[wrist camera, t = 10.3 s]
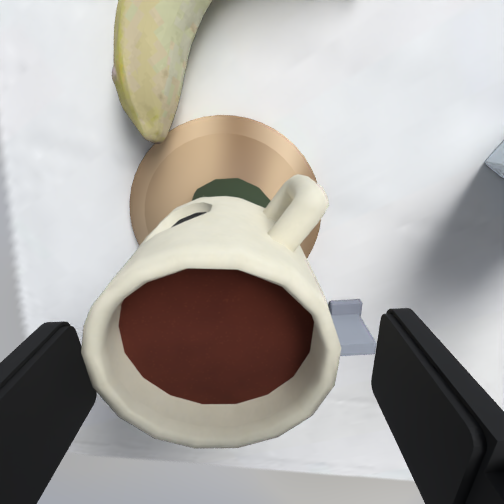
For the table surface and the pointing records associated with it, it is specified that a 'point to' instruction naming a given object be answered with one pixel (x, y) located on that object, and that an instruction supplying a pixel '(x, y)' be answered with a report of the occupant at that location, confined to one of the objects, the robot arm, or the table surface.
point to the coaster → (212, 167)
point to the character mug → (218, 320)
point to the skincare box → (497, 160)
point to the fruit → (153, 59)
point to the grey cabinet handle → (351, 328)
